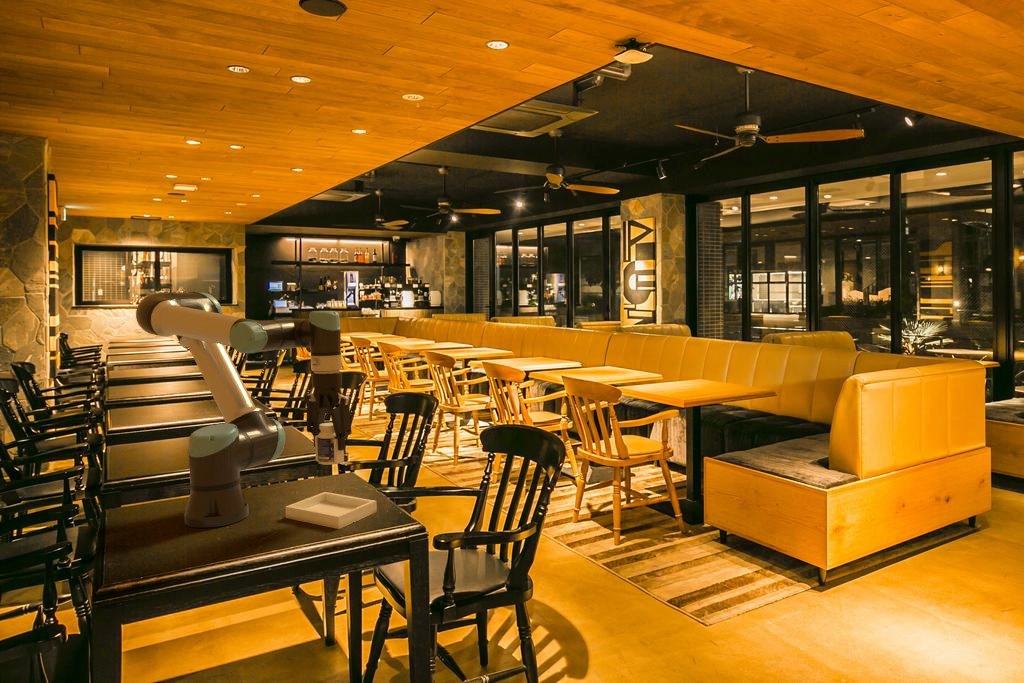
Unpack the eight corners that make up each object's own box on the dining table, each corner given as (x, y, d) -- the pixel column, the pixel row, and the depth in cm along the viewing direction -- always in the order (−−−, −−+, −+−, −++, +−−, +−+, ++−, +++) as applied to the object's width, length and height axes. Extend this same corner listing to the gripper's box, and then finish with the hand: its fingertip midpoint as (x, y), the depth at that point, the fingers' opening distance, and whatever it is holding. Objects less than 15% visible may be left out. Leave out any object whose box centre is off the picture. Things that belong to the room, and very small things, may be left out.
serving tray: (285, 518, 174) (285, 506, 174) (325, 502, 186) (324, 491, 186) (339, 529, 165) (338, 516, 165) (376, 512, 177) (376, 500, 177)
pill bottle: (335, 465, 171) (333, 426, 170) (314, 464, 172) (312, 426, 171) (345, 459, 177) (343, 422, 176) (325, 459, 178) (323, 421, 177)
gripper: (288, 371, 174) (292, 460, 176) (344, 375, 165) (347, 468, 167) (310, 368, 180) (313, 454, 182) (364, 371, 171) (367, 461, 173)
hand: (329, 461), depth 174 cm, fingers closed on pill bottle, 6 cm apart
